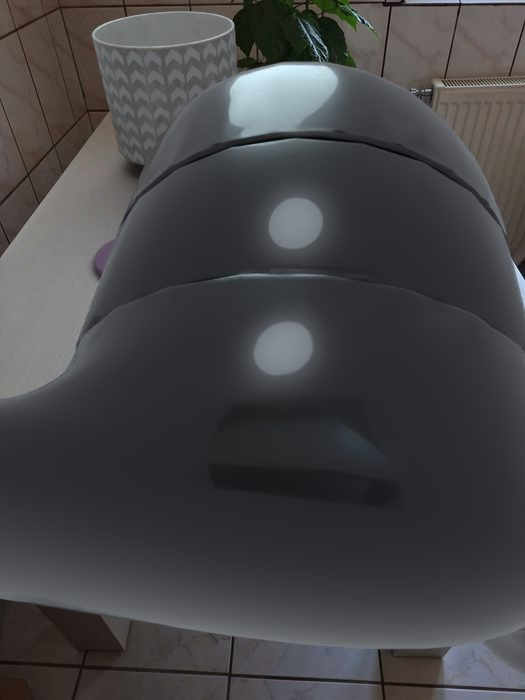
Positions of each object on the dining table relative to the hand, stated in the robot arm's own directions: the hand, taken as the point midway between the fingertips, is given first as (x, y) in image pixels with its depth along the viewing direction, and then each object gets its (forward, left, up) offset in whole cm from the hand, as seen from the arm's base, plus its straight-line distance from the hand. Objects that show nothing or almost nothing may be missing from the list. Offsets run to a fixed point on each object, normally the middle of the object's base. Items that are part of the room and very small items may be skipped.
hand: (202, 356), depth 49 cm
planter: (+17, +67, -11) cm, 70 cm away
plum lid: (-1, +35, -10) cm, 37 cm away
